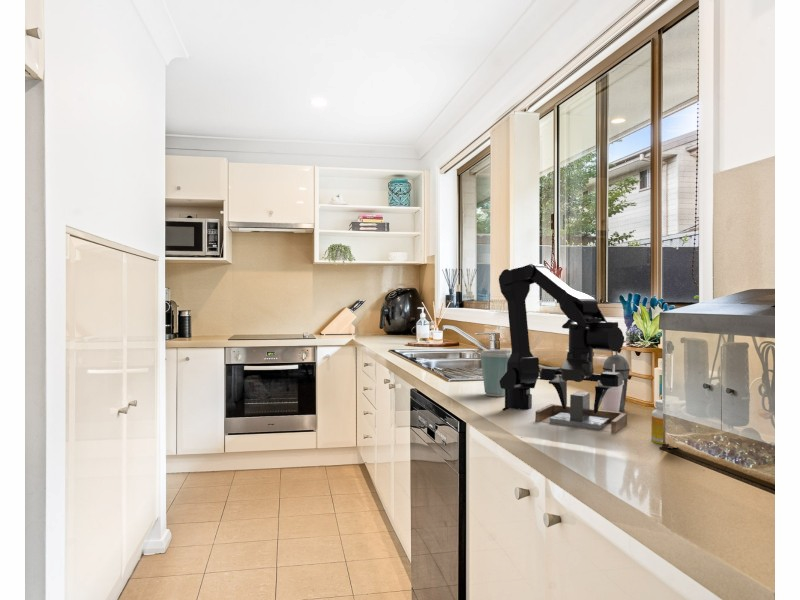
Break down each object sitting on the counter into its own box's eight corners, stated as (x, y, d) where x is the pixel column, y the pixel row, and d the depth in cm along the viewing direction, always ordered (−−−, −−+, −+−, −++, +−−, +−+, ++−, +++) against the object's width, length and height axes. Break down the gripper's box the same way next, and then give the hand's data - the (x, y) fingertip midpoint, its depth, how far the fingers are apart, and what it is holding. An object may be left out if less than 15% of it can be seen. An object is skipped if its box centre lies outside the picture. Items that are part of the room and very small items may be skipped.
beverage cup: (601, 410, 156) (602, 339, 155) (602, 405, 162) (603, 338, 162) (629, 412, 153) (630, 340, 153) (629, 408, 160) (630, 339, 160)
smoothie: (625, 419, 145) (626, 365, 145) (600, 417, 146) (600, 364, 146) (621, 414, 151) (621, 363, 151) (596, 412, 153) (597, 362, 152)
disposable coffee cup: (473, 395, 177) (474, 348, 176) (487, 391, 186) (487, 346, 186) (505, 399, 171) (506, 351, 171) (517, 394, 180) (518, 348, 180)
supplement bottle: (667, 451, 115) (668, 404, 115) (645, 444, 120) (646, 400, 120) (684, 448, 117) (685, 402, 117) (662, 441, 122) (662, 398, 122)
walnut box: (535, 425, 137) (535, 411, 136) (550, 417, 146) (551, 404, 146) (615, 437, 126) (615, 421, 126) (626, 427, 135) (626, 413, 135)
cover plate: (549, 423, 135) (550, 393, 135) (561, 416, 142) (561, 388, 142) (600, 430, 128) (600, 399, 128) (609, 423, 135) (610, 393, 135)
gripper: (532, 347, 134) (531, 412, 134) (612, 353, 123) (611, 422, 123) (547, 344, 143) (546, 405, 143) (623, 349, 132) (622, 414, 132)
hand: (579, 411), depth 135 cm, fingers open, 7 cm apart
